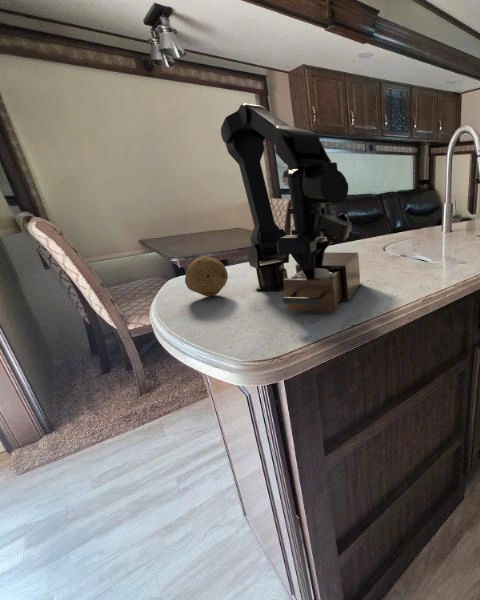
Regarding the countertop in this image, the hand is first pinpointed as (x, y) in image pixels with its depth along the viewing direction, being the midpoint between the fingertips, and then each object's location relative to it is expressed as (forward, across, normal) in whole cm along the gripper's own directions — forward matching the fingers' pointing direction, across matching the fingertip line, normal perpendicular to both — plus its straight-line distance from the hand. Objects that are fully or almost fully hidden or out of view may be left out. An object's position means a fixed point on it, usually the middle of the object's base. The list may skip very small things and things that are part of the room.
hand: (315, 277), depth 68 cm
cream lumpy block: (+1, 0, 0) cm, 1 cm away
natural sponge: (+7, +6, +29) cm, 30 cm away
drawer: (+6, 0, 0) cm, 6 cm away
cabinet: (+7, +11, 0) cm, 13 cm away
